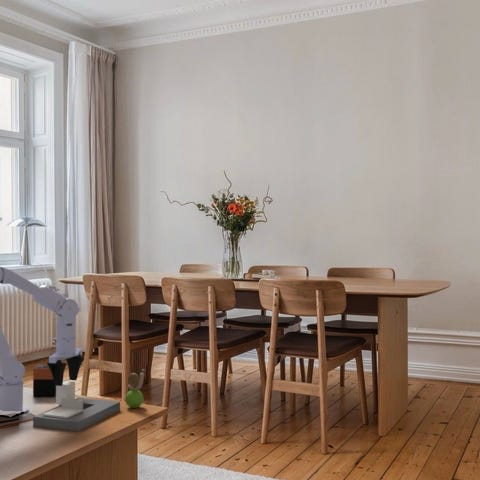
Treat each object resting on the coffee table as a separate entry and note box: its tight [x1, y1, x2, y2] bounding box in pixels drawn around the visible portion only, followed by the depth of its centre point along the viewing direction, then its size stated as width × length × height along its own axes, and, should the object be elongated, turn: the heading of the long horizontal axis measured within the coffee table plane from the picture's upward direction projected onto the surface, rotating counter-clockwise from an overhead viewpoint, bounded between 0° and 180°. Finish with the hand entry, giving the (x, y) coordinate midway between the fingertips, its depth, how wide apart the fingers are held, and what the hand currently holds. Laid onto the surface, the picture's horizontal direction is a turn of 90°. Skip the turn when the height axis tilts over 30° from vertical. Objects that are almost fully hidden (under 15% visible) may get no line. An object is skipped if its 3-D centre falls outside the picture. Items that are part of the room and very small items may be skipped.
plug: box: [55, 380, 76, 406], centre depth 192 cm, size 4×4×7 cm
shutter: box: [43, 398, 83, 419], centre depth 174 cm, size 8×9×3 cm
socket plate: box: [32, 397, 121, 432], centre depth 179 cm, size 14×22×2 cm, turn 161°
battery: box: [32, 363, 56, 398], centre depth 204 cm, size 4×7×10 cm, turn 93°
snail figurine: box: [124, 368, 146, 409], centre depth 190 cm, size 5×6×12 cm
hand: (66, 382), depth 192 cm, fingers open, 7 cm apart
